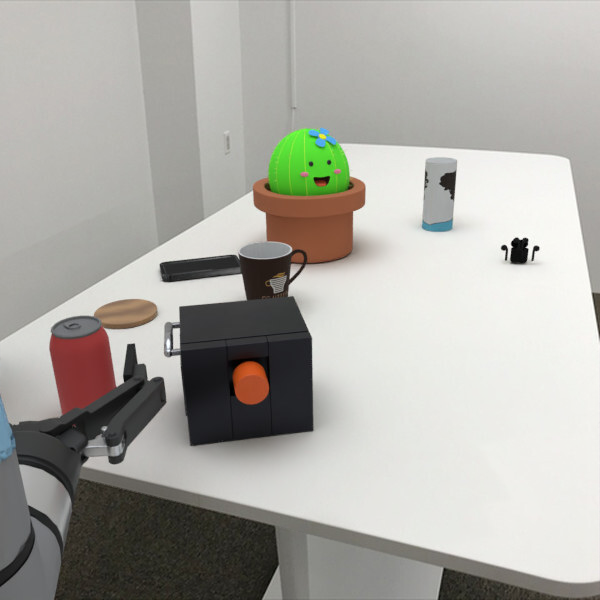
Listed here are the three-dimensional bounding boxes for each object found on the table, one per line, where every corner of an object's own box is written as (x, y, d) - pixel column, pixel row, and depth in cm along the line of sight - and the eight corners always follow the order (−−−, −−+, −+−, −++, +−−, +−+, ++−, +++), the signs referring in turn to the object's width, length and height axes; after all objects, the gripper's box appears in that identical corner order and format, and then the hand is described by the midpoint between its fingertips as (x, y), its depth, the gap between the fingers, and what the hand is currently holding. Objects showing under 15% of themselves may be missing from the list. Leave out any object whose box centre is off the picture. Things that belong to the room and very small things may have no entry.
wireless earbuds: (499, 263, 124) (502, 238, 122) (498, 259, 126) (500, 234, 124) (538, 264, 123) (541, 239, 121) (535, 260, 125) (538, 235, 123)
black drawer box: (172, 393, 83) (163, 307, 78) (295, 380, 85) (293, 295, 80) (173, 448, 72) (161, 352, 67) (313, 430, 75) (312, 337, 70)
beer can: (92, 395, 83) (78, 309, 78) (131, 408, 80) (118, 319, 75) (51, 421, 78) (32, 330, 73) (90, 436, 74) (74, 343, 70)
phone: (158, 262, 125) (236, 253, 128) (159, 268, 125) (236, 259, 129) (162, 276, 118) (243, 267, 121) (163, 282, 118) (244, 272, 122)
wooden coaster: (84, 314, 106) (83, 310, 105) (139, 298, 112) (139, 294, 111) (111, 334, 99) (110, 330, 98) (169, 316, 105) (168, 311, 104)
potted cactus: (245, 240, 140) (238, 121, 130) (340, 229, 146) (340, 114, 136) (273, 274, 121) (267, 137, 111) (381, 260, 127) (385, 129, 117)
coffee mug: (243, 320, 102) (239, 260, 98) (239, 299, 110) (236, 243, 106) (316, 314, 104) (315, 255, 100) (307, 294, 112) (306, 238, 108)
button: (233, 391, 71) (231, 362, 70) (266, 388, 71) (264, 359, 70) (235, 406, 68) (233, 376, 67) (269, 402, 69) (268, 372, 67)
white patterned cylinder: (458, 227, 145) (464, 160, 139) (437, 233, 142) (441, 164, 136) (436, 221, 150) (440, 156, 144) (415, 226, 147) (418, 160, 141)
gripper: (-162, 572, 45) (-62, 409, 64) (200, 520, 49) (192, 381, 68) (-197, 484, 42) (-81, 341, 61) (191, 436, 46) (185, 316, 65)
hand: (63, 362), depth 65 cm, fingers open, 13 cm apart
